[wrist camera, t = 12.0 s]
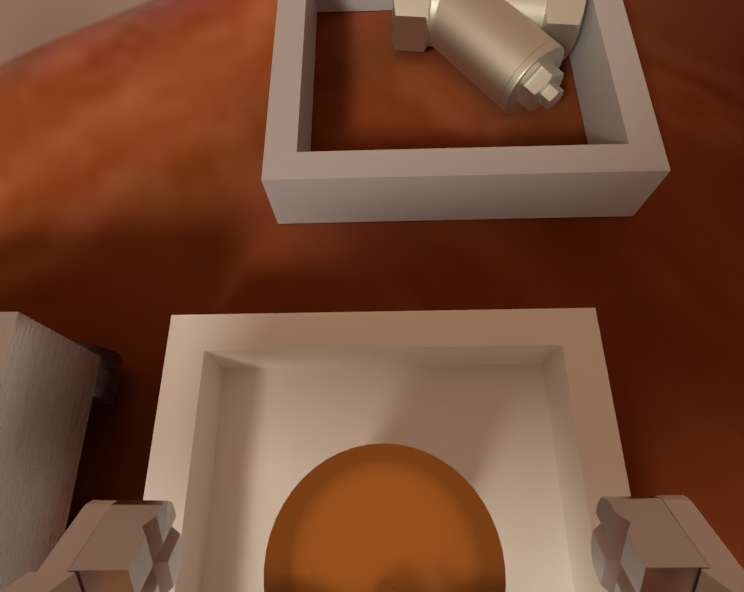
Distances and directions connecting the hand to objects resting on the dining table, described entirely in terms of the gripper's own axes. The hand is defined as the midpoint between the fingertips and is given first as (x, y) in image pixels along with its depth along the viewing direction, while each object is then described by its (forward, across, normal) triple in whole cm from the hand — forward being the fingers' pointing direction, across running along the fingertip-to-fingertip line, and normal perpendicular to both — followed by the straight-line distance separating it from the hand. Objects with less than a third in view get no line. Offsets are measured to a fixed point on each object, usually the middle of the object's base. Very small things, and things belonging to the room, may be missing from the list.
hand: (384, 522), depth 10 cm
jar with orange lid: (+4, 0, +5) cm, 7 cm away
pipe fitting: (+19, -5, -8) cm, 22 cm away
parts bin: (+18, -3, -7) cm, 20 cm away
